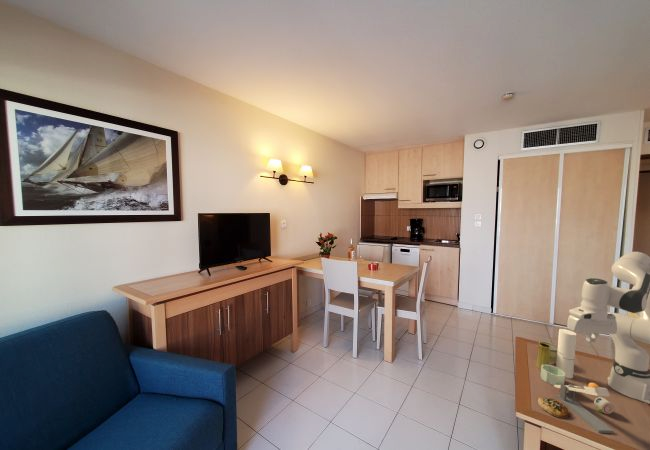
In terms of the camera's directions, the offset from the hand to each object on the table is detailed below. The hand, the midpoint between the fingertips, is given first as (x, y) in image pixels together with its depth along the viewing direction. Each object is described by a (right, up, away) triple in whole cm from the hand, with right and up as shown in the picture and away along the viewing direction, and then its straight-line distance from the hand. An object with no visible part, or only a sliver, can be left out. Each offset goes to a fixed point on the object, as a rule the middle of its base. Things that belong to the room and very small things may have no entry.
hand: (590, 341), depth 120 cm
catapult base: (-9, -31, -4) cm, 33 cm away
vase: (+2, -30, +29) cm, 41 cm away
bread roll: (-20, -31, -2) cm, 37 cm away
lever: (-5, -23, -2) cm, 24 cm away
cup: (-2, -30, +18) cm, 35 cm away
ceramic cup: (+13, -30, +37) cm, 49 cm away
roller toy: (+3, -32, -3) cm, 32 cm away
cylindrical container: (+10, -30, +24) cm, 40 cm away
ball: (-9, -16, -9) cm, 20 cm away
